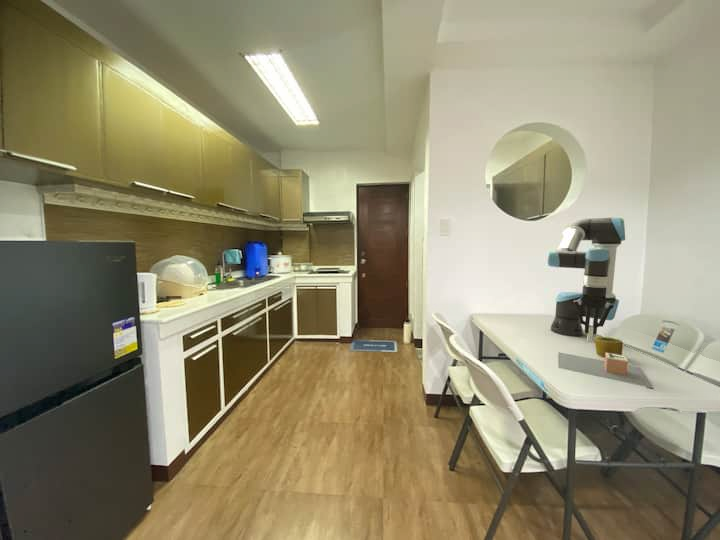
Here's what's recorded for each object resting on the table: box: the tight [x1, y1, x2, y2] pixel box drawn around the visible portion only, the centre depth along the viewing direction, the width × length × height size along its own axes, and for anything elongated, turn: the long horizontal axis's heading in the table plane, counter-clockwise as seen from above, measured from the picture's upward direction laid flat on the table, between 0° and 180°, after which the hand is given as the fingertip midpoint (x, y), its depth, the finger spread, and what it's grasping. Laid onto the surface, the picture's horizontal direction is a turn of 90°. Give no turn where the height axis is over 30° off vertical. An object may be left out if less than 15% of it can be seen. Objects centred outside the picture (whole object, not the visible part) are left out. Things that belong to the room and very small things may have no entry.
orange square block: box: [604, 353, 629, 376], centre depth 114 cm, size 6×6×6 cm
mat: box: [557, 351, 654, 390], centre depth 117 cm, size 20×28×1 cm
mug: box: [593, 336, 624, 358], centre depth 130 cm, size 12×10×10 cm
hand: (589, 341), depth 118 cm, fingers closed
